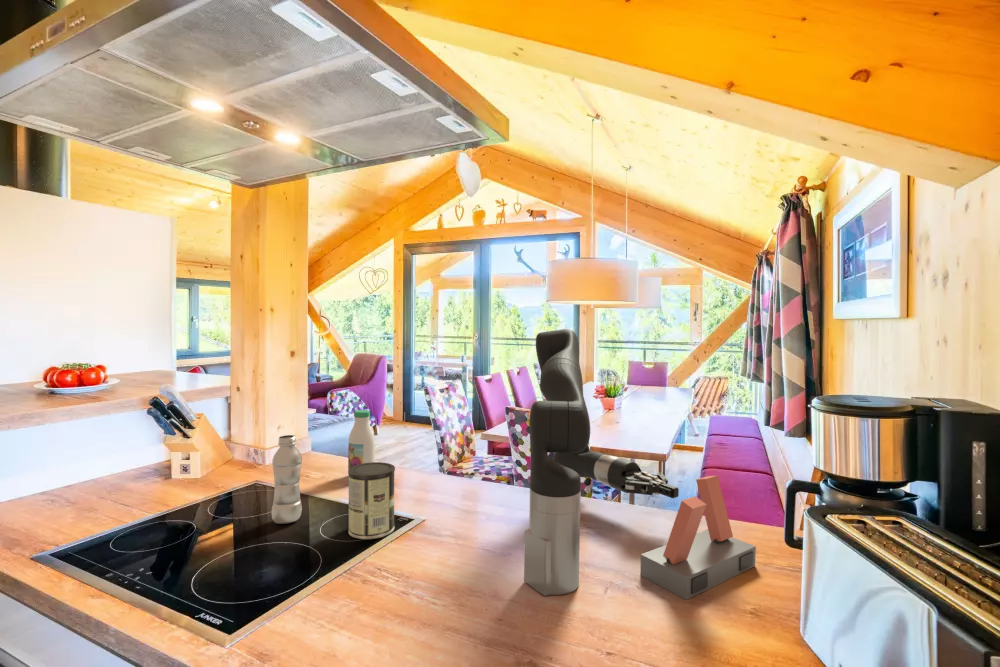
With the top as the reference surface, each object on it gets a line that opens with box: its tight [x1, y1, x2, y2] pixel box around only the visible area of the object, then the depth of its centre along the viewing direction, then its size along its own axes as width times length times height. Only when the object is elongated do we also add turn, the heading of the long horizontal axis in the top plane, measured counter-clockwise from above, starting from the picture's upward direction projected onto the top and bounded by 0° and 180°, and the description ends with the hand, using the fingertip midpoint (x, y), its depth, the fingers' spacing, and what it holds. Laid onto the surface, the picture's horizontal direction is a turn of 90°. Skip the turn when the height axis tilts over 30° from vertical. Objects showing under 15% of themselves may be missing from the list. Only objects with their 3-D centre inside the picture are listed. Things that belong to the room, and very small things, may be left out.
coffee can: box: [347, 461, 396, 540], centre depth 114 cm, size 10×10×14 cm
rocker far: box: [695, 475, 734, 543], centre depth 103 cm, size 4×2×12 cm, turn 124°
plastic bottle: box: [271, 434, 303, 525], centre depth 118 cm, size 6×7×20 cm
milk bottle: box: [347, 409, 376, 477], centre depth 152 cm, size 8×8×20 cm
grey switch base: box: [640, 528, 757, 601], centre depth 97 cm, size 22×10×4 cm, turn 124°
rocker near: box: [663, 496, 707, 565], centre depth 91 cm, size 4×3×12 cm, turn 124°
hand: (676, 493), depth 110 cm, fingers closed
